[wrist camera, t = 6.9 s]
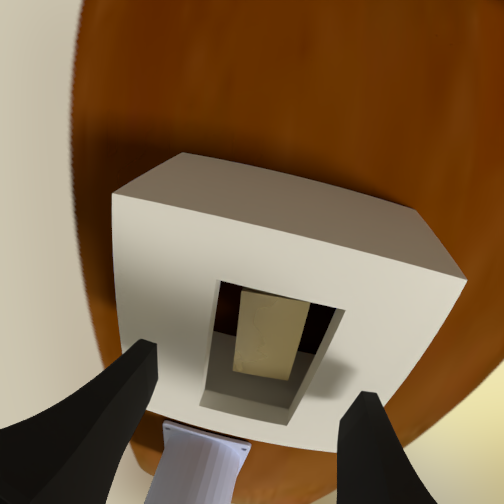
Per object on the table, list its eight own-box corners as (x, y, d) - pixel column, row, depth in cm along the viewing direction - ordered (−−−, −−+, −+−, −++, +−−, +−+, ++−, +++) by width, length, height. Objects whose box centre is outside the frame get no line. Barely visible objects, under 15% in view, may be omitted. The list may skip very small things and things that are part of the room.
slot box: (340, 370, 19) (341, 453, 14) (169, 329, 19) (131, 403, 14) (415, 209, 13) (467, 280, 8) (182, 152, 14) (112, 193, 9)
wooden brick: (293, 317, 17) (288, 380, 14) (248, 310, 18) (232, 370, 14) (310, 245, 15) (310, 302, 11) (258, 236, 15) (241, 290, 12)
